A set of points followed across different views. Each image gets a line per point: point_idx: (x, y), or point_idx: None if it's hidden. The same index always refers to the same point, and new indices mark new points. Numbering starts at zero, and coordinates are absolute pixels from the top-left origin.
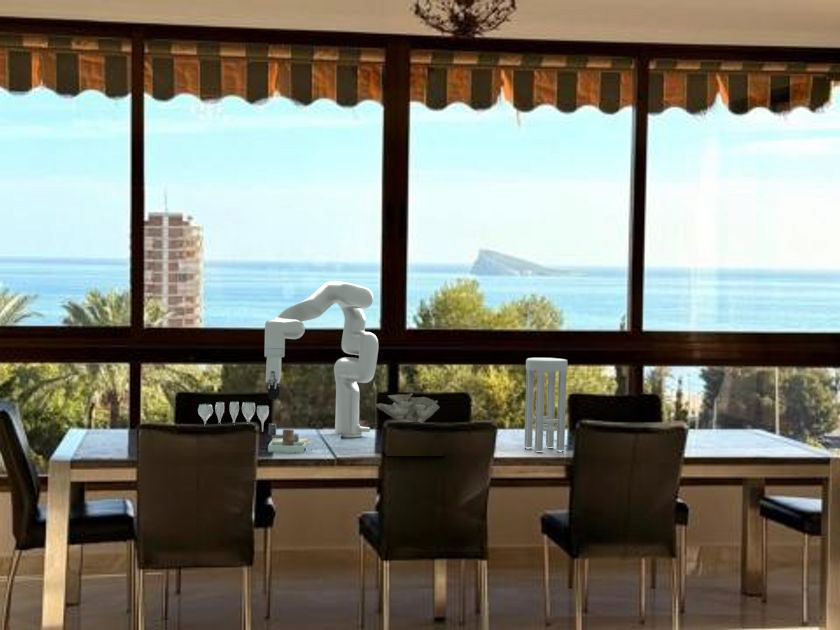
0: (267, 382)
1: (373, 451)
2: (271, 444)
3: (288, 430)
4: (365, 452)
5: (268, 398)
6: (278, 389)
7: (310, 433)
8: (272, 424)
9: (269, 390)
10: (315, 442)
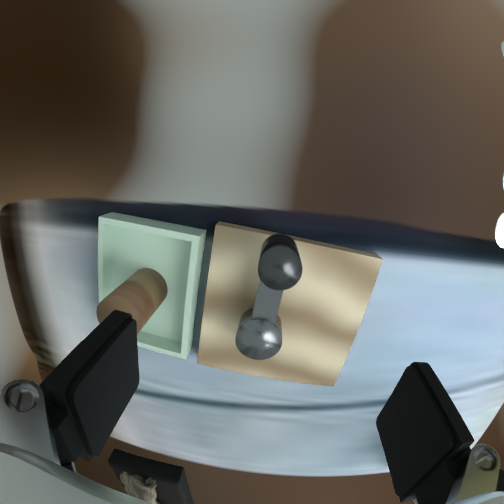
0: (84, 492)
1: (173, 455)
2: (144, 231)
3: (104, 318)
4: (156, 442)
5: (112, 314)
6: (394, 470)
7: (491, 364)
8: (264, 268)
9: (62, 380)
10: (339, 384)
